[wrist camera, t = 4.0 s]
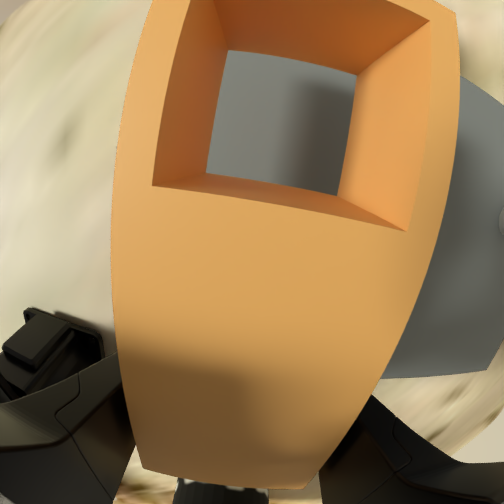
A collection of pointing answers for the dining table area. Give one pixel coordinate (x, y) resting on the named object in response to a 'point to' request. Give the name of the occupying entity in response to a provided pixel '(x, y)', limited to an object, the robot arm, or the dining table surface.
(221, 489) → the spotted tube
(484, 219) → the keeper board
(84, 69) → the dining table surface
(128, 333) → the orange rectangular block
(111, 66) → the dining table surface
